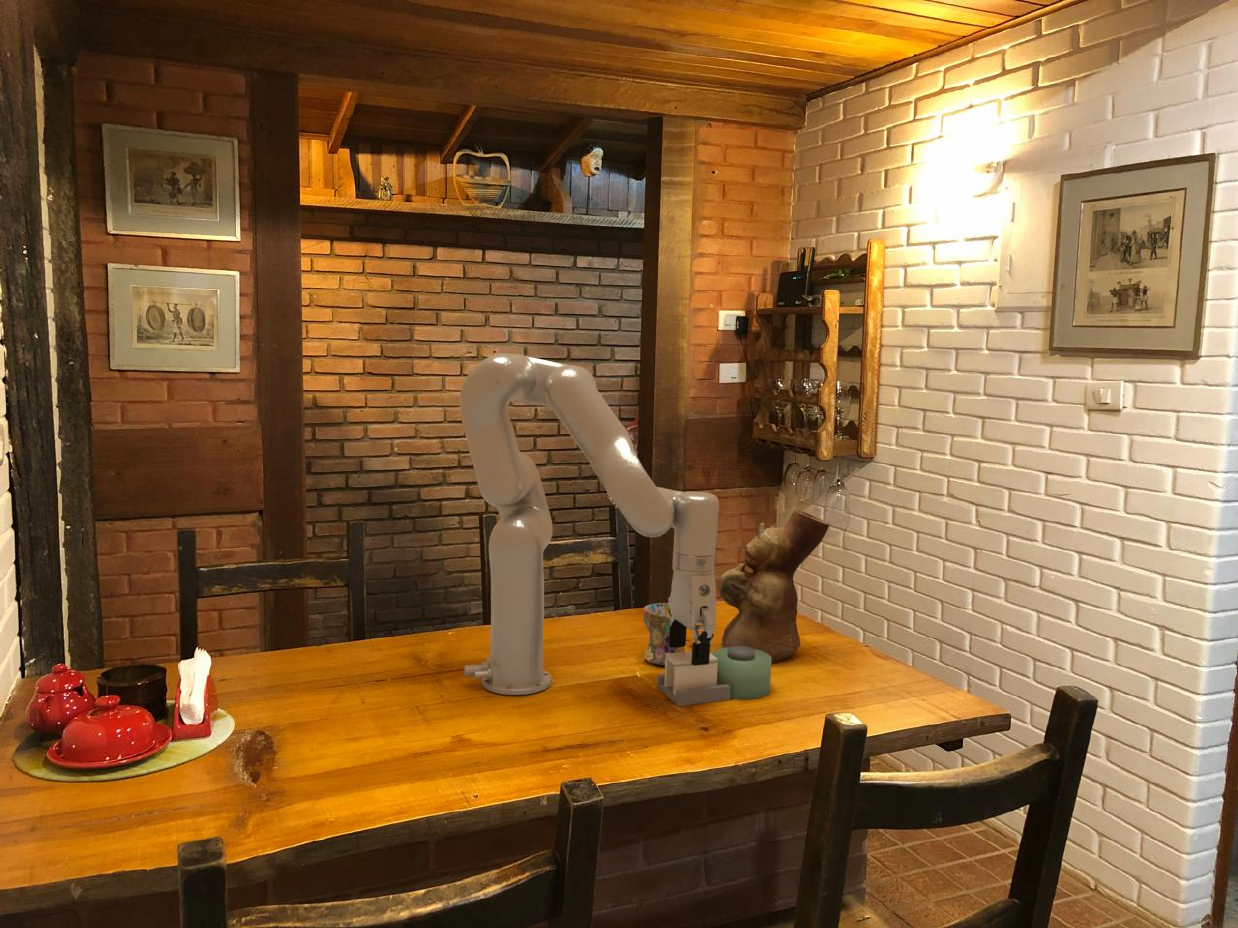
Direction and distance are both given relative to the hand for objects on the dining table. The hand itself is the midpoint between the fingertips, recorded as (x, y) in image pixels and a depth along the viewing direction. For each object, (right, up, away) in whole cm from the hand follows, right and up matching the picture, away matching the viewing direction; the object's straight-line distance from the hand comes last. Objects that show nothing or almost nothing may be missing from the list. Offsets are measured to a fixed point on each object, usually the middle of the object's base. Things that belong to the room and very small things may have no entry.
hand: (688, 655), depth 164 cm
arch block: (0, -6, +1) cm, 6 cm away
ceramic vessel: (+19, -5, +25) cm, 31 cm away
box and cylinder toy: (+6, -7, +3) cm, 9 cm away
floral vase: (-4, -5, +19) cm, 20 cm away
